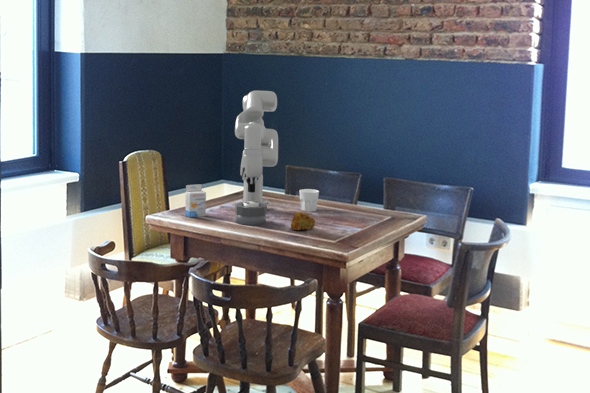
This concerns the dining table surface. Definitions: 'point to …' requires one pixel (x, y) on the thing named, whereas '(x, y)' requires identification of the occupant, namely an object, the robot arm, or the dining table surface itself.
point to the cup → (308, 199)
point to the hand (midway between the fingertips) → (251, 191)
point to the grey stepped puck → (250, 214)
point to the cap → (251, 203)
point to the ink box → (195, 201)
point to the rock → (302, 222)
